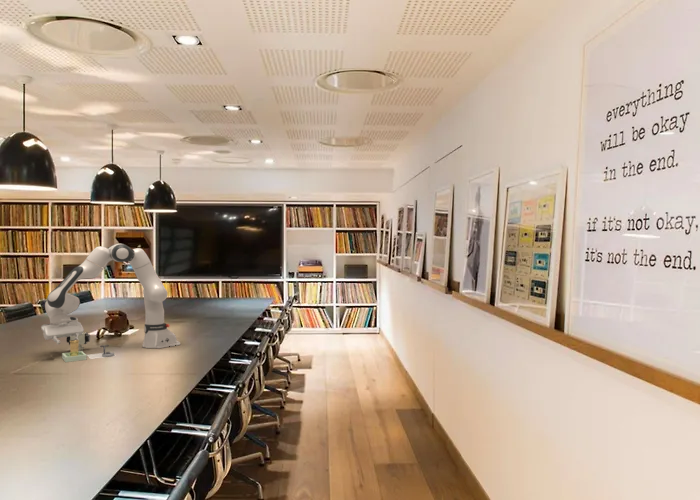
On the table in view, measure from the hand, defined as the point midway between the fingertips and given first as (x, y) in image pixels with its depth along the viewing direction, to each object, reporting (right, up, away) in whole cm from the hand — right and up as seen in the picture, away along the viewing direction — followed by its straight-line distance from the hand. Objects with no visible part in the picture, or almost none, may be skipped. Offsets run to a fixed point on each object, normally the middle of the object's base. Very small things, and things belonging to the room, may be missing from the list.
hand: (67, 342), depth 271 cm
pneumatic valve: (-4, -9, +18) cm, 20 cm away
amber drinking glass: (+6, -8, -4) cm, 11 cm away
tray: (+6, -9, -4) cm, 12 cm away
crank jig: (+16, -9, +5) cm, 19 cm away
